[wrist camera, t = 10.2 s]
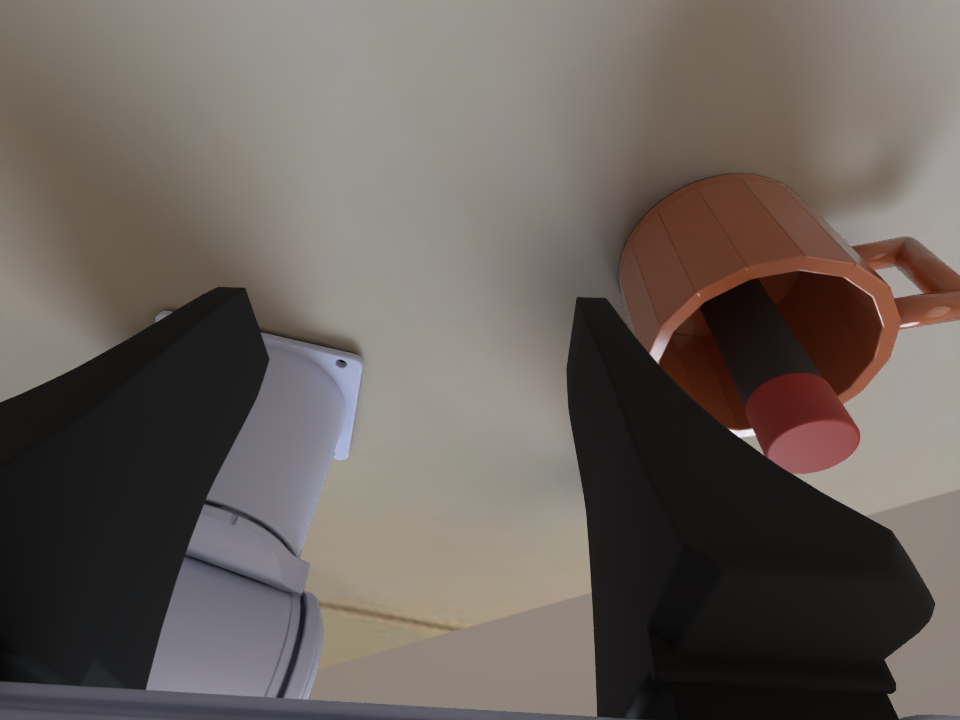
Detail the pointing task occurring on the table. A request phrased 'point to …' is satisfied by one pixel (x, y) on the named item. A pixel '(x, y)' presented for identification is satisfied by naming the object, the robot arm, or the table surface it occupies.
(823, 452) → the marker
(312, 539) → the table surface
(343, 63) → the table surface
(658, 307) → the orange coffee mug
